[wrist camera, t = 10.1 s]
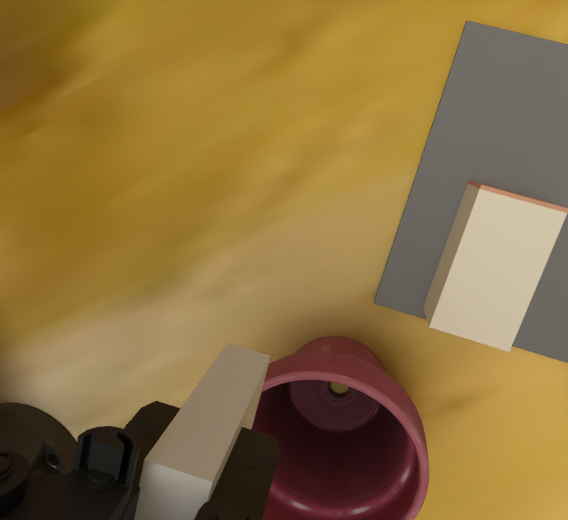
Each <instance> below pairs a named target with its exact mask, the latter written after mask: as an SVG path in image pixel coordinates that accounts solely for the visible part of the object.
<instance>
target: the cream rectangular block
mask: <svg viewBox="0 0 568 520" xmlns="http://www.w3.org/2000/svg"><path fill="white" fill-rule="evenodd" d="M567 213H568V208H565V207H562V206H559V205H556V204H553V203H550V202H547V201H543V200H540V199H536V198H532V197H529V196H525V195H521V194H518V193H514V192H510V191H507V190H503V189H499V188H496V187H492V186H489V185H485V184H481V183H478V182H474V181H470V180H469V181H468V184H467V186H466V189H465V192H464V195H463V198H462V200H461V203H460V206H459V209H458V211H457V214H456V217H455V220H454V223H453V225H452V228H451V231H450V234H449V237H448V239H447V242H446V245H445V248H444V250H443V253H442V256H441V259H440V262H439V264H438V267H437V270H436V273H435V276H434V278H433V281H432V284H431V287H430V289H429V292H428V295H427V298H426V301H425V303H424V306H423V307H424V311H425V314H426V318H427V322H428V325H429V327H430V328H433V329H437V330H440V331H443V332H446V333H449V334H453V335H456V336H459V337H462V338H466V339H469V340H472V341H475V342H478V343H482V344H485V345H488V346H491V347H495V348H498V349H501V350H504V351H507V352H509V351H510V349H511V347H512V344H513V342H514V339H515V337H516V335H517V332H518V330H519V327H520V325H521V323H522V320H523V318H524V316H525V313H526V311H527V308H528V306H529V304H530V301H531V299H532V296H533V294H534V292H535V289H536V287H537V284H538V282H539V280H540V277H541V275H542V273H543V270H544V268H545V265H546V263H547V261H548V258H549V256H550V253H551V251H552V249H553V246H554V244H555V242H556V239H557V237H558V234H559V232H560V230H561V227H562V225H563V222H564V220H565V218H566V215H567Z"/></svg>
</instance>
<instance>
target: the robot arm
mask: <svg viewBox="0 0 568 520" xmlns="http://www.w3.org/2000/svg"><path fill="white" fill-rule="evenodd" d="M270 357H271V355H267V354H264V353H261V352H257V351H254V350H251V349H247V348H244V347H241V346H237V345H234V344H231V343H227V345H226V346H225V347H224V349H223V350H222V352H221V353H220V354H219V356H218V357H217V359H216V360H215V361H214V363H213V364H212V366H211V367H210V368H209V370H208V371H207V373H206V374H205V375H204V377H203V378H202V380H201V381H200V382H199V384H198V385H197V387H196V388H195V389H194V391H193V392H192V394H191V395H190V396H189V398H188V399H187V401H186V402H185V403H184V405H183V406H182V408H181V409H180V408H177V407H174V406H171V405H168V404H165V403H161V402H158V401H155V402H153V403H151V404H148V405H146V406H144V407H142V408H141V409H140V410H139V411H138V412H137V413H136V415H135V416H134V417H133V418H132V420H130V421H129V423H128V424H127V425H126V426H125V428H124V429H122V428H117V427H112V426H105V427H96V428H92V429H89V430H86V431H85V432H83V433H82V434H80V435H79V436H78V441H77V444H76V443H75V441H74V440H73V438H72V437H71V435H70V434H69V433H68V432H67V431H66V430H65V429H64V428H63V427H62V426H61V425H60V424H59V423H58V422H57V421H55V420H54V419H53V418H51V417H50V416H48V415H47V414H45V413H43V412H41V411H39V410H37V409H35V408H32V407H29V406H26V405H22V404H15V403H3V404H0V520H262V518H263V513H264V509H265V506H266V502H267V499H268V495H269V491H270V488H271V484H272V481H273V477H274V474H275V470H276V467H277V463H278V459H279V456H280V452H281V450H280V447H279V444H278V440H277V438H276V437H273V436H270V435H266V434H263V433H260V432H257V431H254V430H251V428H252V426H253V422H254V418H255V414H256V410H257V406H258V403H259V399H260V395H261V391H262V387H263V384H264V380H265V376H266V372H267V368H268V364H269V361H270Z"/></svg>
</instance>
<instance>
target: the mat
mask: <svg viewBox="0 0 568 520" xmlns="http://www.w3.org/2000/svg"><path fill="white" fill-rule="evenodd" d="M469 180H470V181H474V182H478V183H481V184H485V185H489V186H492V187H496V188H499V189H503V190H507V191H510V192H514V193H518V194H521V195H525V196H529V197H532V198H536V199H540V200H543V201H547V202H550V203H553V204H556V205H559V206H562V207H565V208H568V44H564V43H559V42H555V41H551V40H547V39H543V38H538V37H534V36H530V35H526V34H522V33H517V32H513V31H509V30H505V29H501V28H496V27H492V26H488V25H484V24H480V23H475V22H471V21H467V22H466V24H465V27H464V30H463V33H462V36H461V39H460V42H459V45H458V48H457V52H456V55H455V58H454V61H453V64H452V67H451V70H450V73H449V76H448V79H447V82H446V85H445V88H444V91H443V94H442V97H441V100H440V103H439V106H438V109H437V112H436V115H435V118H434V121H433V124H432V127H431V130H430V133H429V136H428V139H427V142H426V145H425V148H424V152H423V155H422V158H421V161H420V164H419V167H418V170H417V173H416V176H415V179H414V182H413V185H412V188H411V191H410V194H409V197H408V200H407V203H406V206H405V209H404V212H403V215H402V218H401V221H400V224H399V227H398V230H397V233H396V236H395V239H394V242H393V245H392V248H391V252H390V255H389V258H388V261H387V264H386V267H385V270H384V273H383V276H382V279H381V282H380V285H379V288H378V291H377V294H376V297H375V300H374V303H375V304H379V305H382V306H385V307H388V308H392V309H395V310H398V311H401V312H405V313H408V314H411V315H414V316H417V317H421V318H424V319H427V318H426V314H425V311H424V307H423V306H424V303H425V301H426V298H427V295H428V292H429V289H430V287H431V284H432V281H433V278H434V276H435V273H436V270H437V267H438V264H439V262H440V259H441V256H442V253H443V250H444V248H445V245H446V242H447V239H448V237H449V234H450V231H451V228H452V225H453V223H454V220H455V217H456V214H457V211H458V209H459V206H460V203H461V200H462V198H463V195H464V192H465V189H466V186H467V184H468V181H469ZM512 346H515V347H518V348H521V349H524V350H528V351H531V352H534V353H537V354H540V355H544V356H547V357H550V358H553V359H557V360H560V361H563V362H566V363H568V213H567V215H566V218H565V220H564V222H563V225H562V227H561V230H560V232H559V234H558V237H557V239H556V242H555V244H554V246H553V249H552V251H551V253H550V256H549V258H548V261H547V263H546V265H545V268H544V270H543V273H542V275H541V277H540V280H539V282H538V284H537V287H536V289H535V292H534V294H533V296H532V299H531V301H530V304H529V306H528V308H527V311H526V313H525V316H524V318H523V320H522V323H521V325H520V327H519V330H518V332H517V335H516V337H515V339H514V342H513V344H512Z"/></svg>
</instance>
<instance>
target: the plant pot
mask: <svg viewBox="0 0 568 520" xmlns="http://www.w3.org/2000/svg"><path fill="white" fill-rule="evenodd" d="M330 382H334V383H339V384H342V385H346V386H349V387H350V390H349V391H348V393H346V394H345V395H342V396H338V395H335V394H333V393H332V392H331V390H330V388H329V384H330ZM251 430H254V431H257V432H260V433H263V434H266V435H270V436H273V437H276V438H277V440H278V444H279V447H280V450H281V452H280V456H279V459H278V463H277V467H276V470H275V474H274V477H273V481H272V484H271V488H270V491H269V495H268V499H267V502H266V506H265V509H264V513H263V518H262V520H414V519H415V517H416V516H417V514H418V513H419V511H420V509H421V507H422V505H423V502H424V500H425V497H426V494H427V489H428V483H429V462H428V453H427V446H426V439H425V433H424V429H423V425H422V422H421V418H420V416H419V414H418V411H417V409H416V407H415V405H414V404H413V402H412V400H411V399H410V397H409V396H408V394H407V393H406V392H405V390H404V389H403V388H402V387H401V386H400V385H399V384H398V383H397V382H396V381H395V380H394V379H393V378H392V377H390V376H389V375H388V374H387V373H386V372H385V371H384V369H383V366H382V365H381V363H380V361H379V360H378V358H377V357H376V356H375V355H374V354H373V353H372V352H371V351H370V350H369V349H368V348H367V347H365V346H364V345H362V344H361V343H359V342H357V341H354V340H351V339H349V338H345V337H335V336H332V337H323V338H319V339H316V340H313V341H311V342H309V343H308V344H306V345H305V346H303V347H302V348H301V349H300V350H298V351H297V352H296V353H294V354H293V355H289V356H286V357H284V358H281V359H279V360H277V361H275V362H273V363H271V364H269V365H268V368H267V372H266V376H265V380H264V384H263V387H262V391H261V395H260V399H259V403H258V406H257V410H256V414H255V418H254V422H253V426H252V428H251Z"/></svg>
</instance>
